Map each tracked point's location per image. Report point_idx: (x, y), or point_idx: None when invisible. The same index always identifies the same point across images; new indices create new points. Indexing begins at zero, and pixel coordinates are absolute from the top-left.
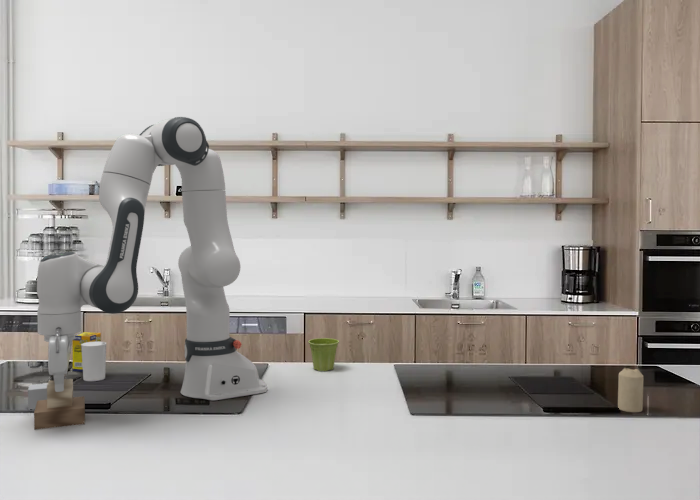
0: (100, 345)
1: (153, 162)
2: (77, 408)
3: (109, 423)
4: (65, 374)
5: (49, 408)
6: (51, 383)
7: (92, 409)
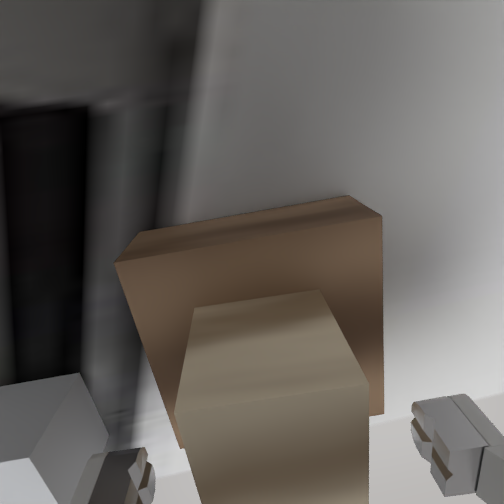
0: None
1: None
2: (376, 252)
3: (379, 67)
4: (127, 494)
5: None
6: (306, 500)
7: (108, 200)
